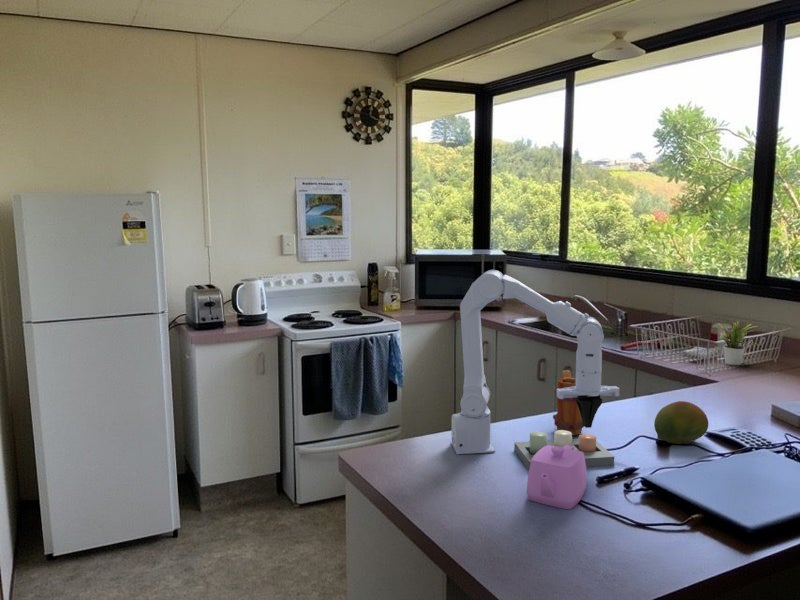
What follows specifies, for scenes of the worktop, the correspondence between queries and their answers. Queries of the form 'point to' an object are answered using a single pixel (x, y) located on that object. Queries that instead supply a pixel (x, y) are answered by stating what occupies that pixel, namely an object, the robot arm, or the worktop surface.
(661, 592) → the worktop surface
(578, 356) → the robot arm
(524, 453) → the panel
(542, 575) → the worktop surface
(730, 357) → the house plant
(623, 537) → the worktop surface
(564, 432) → the button cream
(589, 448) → the button terracotta
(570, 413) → the mug
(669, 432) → the fruit
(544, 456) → the teapot
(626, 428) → the worktop surface
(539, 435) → the button sage
